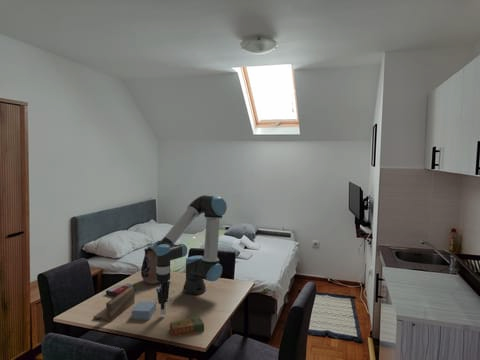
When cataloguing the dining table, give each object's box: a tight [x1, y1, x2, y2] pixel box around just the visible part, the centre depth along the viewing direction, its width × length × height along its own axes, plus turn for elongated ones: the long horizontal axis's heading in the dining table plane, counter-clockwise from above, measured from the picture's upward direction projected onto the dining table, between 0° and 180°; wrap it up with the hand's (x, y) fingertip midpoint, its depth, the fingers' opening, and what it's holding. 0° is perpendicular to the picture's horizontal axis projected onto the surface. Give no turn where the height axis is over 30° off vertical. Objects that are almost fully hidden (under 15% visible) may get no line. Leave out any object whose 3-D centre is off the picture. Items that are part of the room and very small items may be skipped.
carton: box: [169, 316, 205, 338], centre depth 169 cm, size 8×16×4 cm, turn 113°
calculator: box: [105, 282, 136, 298], centre depth 217 cm, size 11×4×15 cm
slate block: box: [131, 301, 157, 321], centre depth 186 cm, size 10×12×5 cm
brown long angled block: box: [93, 287, 135, 323], centre depth 190 cm, size 11×24×10 cm, turn 168°
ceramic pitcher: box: [140, 245, 159, 285], centre depth 237 cm, size 18×21×25 cm
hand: (163, 313), depth 184 cm, fingers closed
